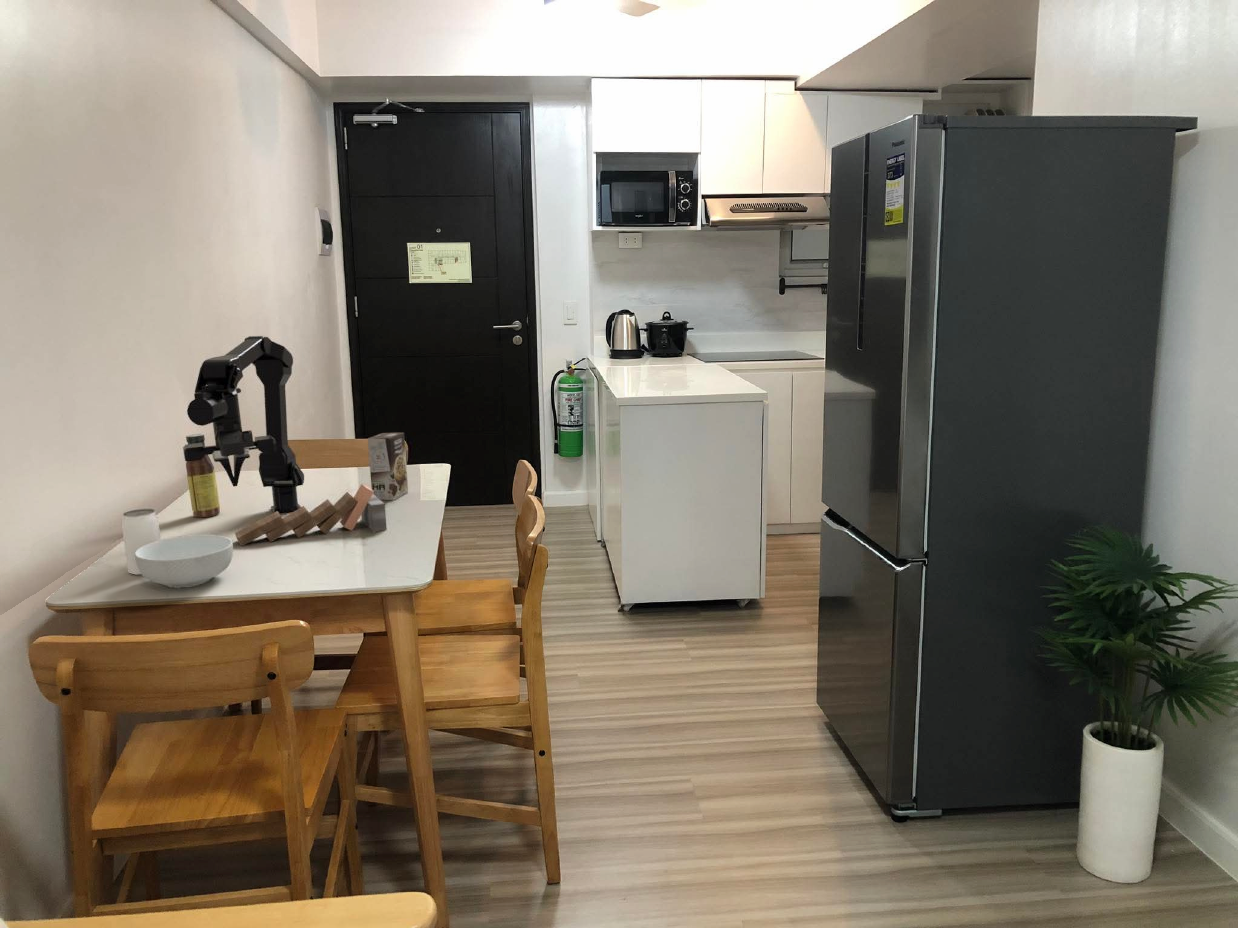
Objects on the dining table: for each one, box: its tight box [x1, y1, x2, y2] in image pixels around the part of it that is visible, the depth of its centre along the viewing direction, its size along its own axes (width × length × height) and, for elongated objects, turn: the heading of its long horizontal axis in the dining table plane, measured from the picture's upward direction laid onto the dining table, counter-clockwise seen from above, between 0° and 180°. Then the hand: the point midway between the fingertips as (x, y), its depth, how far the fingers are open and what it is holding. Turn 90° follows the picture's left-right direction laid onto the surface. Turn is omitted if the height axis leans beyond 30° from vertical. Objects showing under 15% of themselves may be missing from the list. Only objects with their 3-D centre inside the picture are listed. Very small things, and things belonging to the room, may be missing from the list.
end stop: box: [360, 494, 388, 533], centre depth 220 cm, size 12×3×6 cm, turn 27°
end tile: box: [339, 483, 374, 532], centre depth 218 cm, size 2×5×10 cm
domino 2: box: [265, 505, 312, 543], centre depth 212 cm, size 2×5×10 cm
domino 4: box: [316, 491, 358, 535], centre depth 217 cm, size 2×5×10 cm
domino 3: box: [291, 499, 337, 539], centre depth 215 cm, size 2×5×10 cm
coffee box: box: [367, 432, 409, 501], centre depth 248 cm, size 9×6×16 cm
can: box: [121, 508, 162, 575], centre depth 189 cm, size 6×6×12 cm
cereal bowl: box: [135, 534, 234, 589], centre depth 182 cm, size 17×17×7 cm
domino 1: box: [234, 511, 285, 547], centre depth 210 cm, size 2×5×10 cm
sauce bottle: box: [185, 433, 221, 518], centre depth 232 cm, size 6×6×20 cm
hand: (235, 486), depth 213 cm, fingers closed
